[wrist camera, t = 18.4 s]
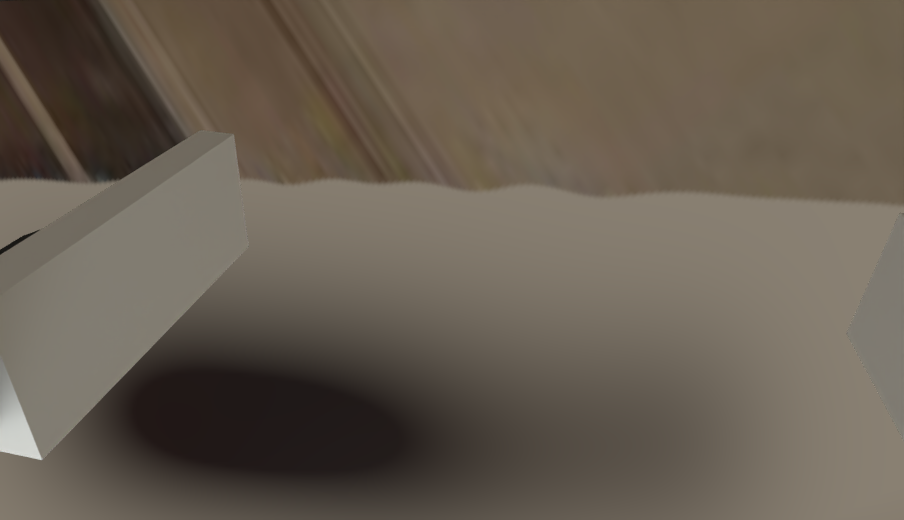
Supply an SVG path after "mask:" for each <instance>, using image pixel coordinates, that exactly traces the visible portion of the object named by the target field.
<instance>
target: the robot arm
mask: <svg viewBox="0 0 904 520" xmlns="http://www.w3.org/2000/svg"><path fill="white" fill-rule="evenodd" d="M0 1H14V0H0ZM248 247H249V245H248V238H247V231H246V224H245V216H244V208H243V200H242V193H241V185H240V178H239V170H238V163H237V155H236V148H235V140H234V134H228V133H220V132H211V131H203V130H200V131H199V132H197V133H195V134H194V135H192V136H190V137H189V138H187V139H186V140H184V141H182V142H181V143H179V144H178V145H176V146H174V147H173V148H171V149H170V150H168V151H166V152H165V153H163V154H162V155H160V156H158V157H157V158H155V159H154V160H152V161H150V162H149V163H147V164H145V165H144V166H142V167H141V168H139V169H137V170H136V171H134V172H133V173H131V174H129V175H128V176H126V177H125V178H123V179H121V180H120V181H118V182H117V183H115V184H113V185H112V186H110V187H109V188H107V189H105V190H104V191H102V192H101V193H99V194H97V195H96V196H94V197H93V198H91V199H89V200H88V201H86V202H84V203H83V204H81V205H80V206H78V207H76V208H75V209H73V210H72V211H70V212H68V213H67V214H65V215H64V216H62V217H60V218H59V219H57V220H56V221H54V222H52V223H51V224H49V225H48V226H46V227H44V228H43V229H41V230H38V231H35V232H33V233H30V234H27V235H24V236H22V237H20V238H19V239H17V240H15V241H14V242H12V243H11V244H9V245H8V246H6V247H4V248H2V249H1V250H0V451H2V452H7V453H11V454H16V455H22V456H26V457H31V458H35V459H41V460H43V459H44V457H45V456H46V455H47V454H48V453H49V452H50V451H51V450H52V449H53V448H54V447H55V446H56V445H57V444H58V443H59V442H60V441H61V440H62V439H63V438H64V437H65V436H66V435H67V434H68V433H69V432H70V430H72V428H74V427H75V425H76V424H77V423H78V422H79V421H80V420H81V419H82V418H83V417H84V416H85V415H86V414H87V413H88V412H89V411H90V410H91V409H92V408H93V407H94V406H95V405H96V404H97V403H98V402H99V401H100V400H101V399H102V397H104V395H105V394H106V393H107V392H108V391H109V390H110V389H111V388H112V387H113V386H114V385H115V384H116V383H117V382H118V381H119V380H120V379H121V378H122V377H123V376H124V375H125V374H126V373H127V372H128V371H129V370H130V369H131V368H132V367H133V366H134V364H135V363H136V362H137V361H138V360H139V359H140V358H141V357H142V356H143V355H144V354H145V353H146V352H147V351H148V350H149V349H150V348H151V347H152V346H153V345H154V344H155V343H156V342H157V341H158V340H159V338H161V337H162V336H163V335H164V334H165V332H166V331H167V330H168V329H169V328H170V327H171V326H172V325H173V324H174V323H175V322H176V321H177V320H178V319H179V318H180V317H181V316H182V315H183V314H184V313H185V312H186V311H187V310H188V309H189V308H190V307H191V306H192V305H193V303H195V301H196V300H197V299H198V298H199V297H200V296H201V295H202V294H203V293H204V292H205V291H206V290H207V289H208V288H209V287H210V286H211V285H212V284H213V283H214V282H215V281H216V280H217V279H218V278H219V277H220V276H221V275H222V274H223V273H224V271H225V270H226V269H227V268H228V267H229V266H230V265H231V264H232V263H233V262H234V261H235V260H236V259H237V258H238V257H239V256H240V255H241V254H242V253H243V252H244V251H245V250H246V249H247V248H248ZM847 335H848V337H849V339H850V341H851V343H852V345H853V347H854V349H855V350H856V352H857V354H858V356H859V358H860V360H861V362H862V364H863V365H864V367H865V369H866V371H867V373H868V375H869V377H870V379H871V381H872V383H873V384H874V386H875V388H876V390H877V392H878V394H879V396H880V398H881V399H882V401H883V403H884V405H885V407H886V409H887V411H888V413H889V415H890V416H891V418H892V420H893V422H894V424H895V426H896V428H897V430H898V431H899V433H900V435H901V437H902V439H903V441H904V213H900V214H899V216H898V218H897V220H896V222H895V225H894V227H893V229H892V232H891V234H890V236H889V238H888V241H887V243H886V245H885V247H884V250H883V252H882V254H881V256H880V259H879V261H878V263H877V265H876V268H875V270H874V272H873V275H872V277H871V279H870V281H869V283H868V286H867V288H866V290H865V293H864V295H863V297H862V299H861V301H860V304H859V306H858V308H857V311H856V313H855V315H854V317H853V320H852V322H851V324H850V326H849V329H848V331H847Z"/></svg>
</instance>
